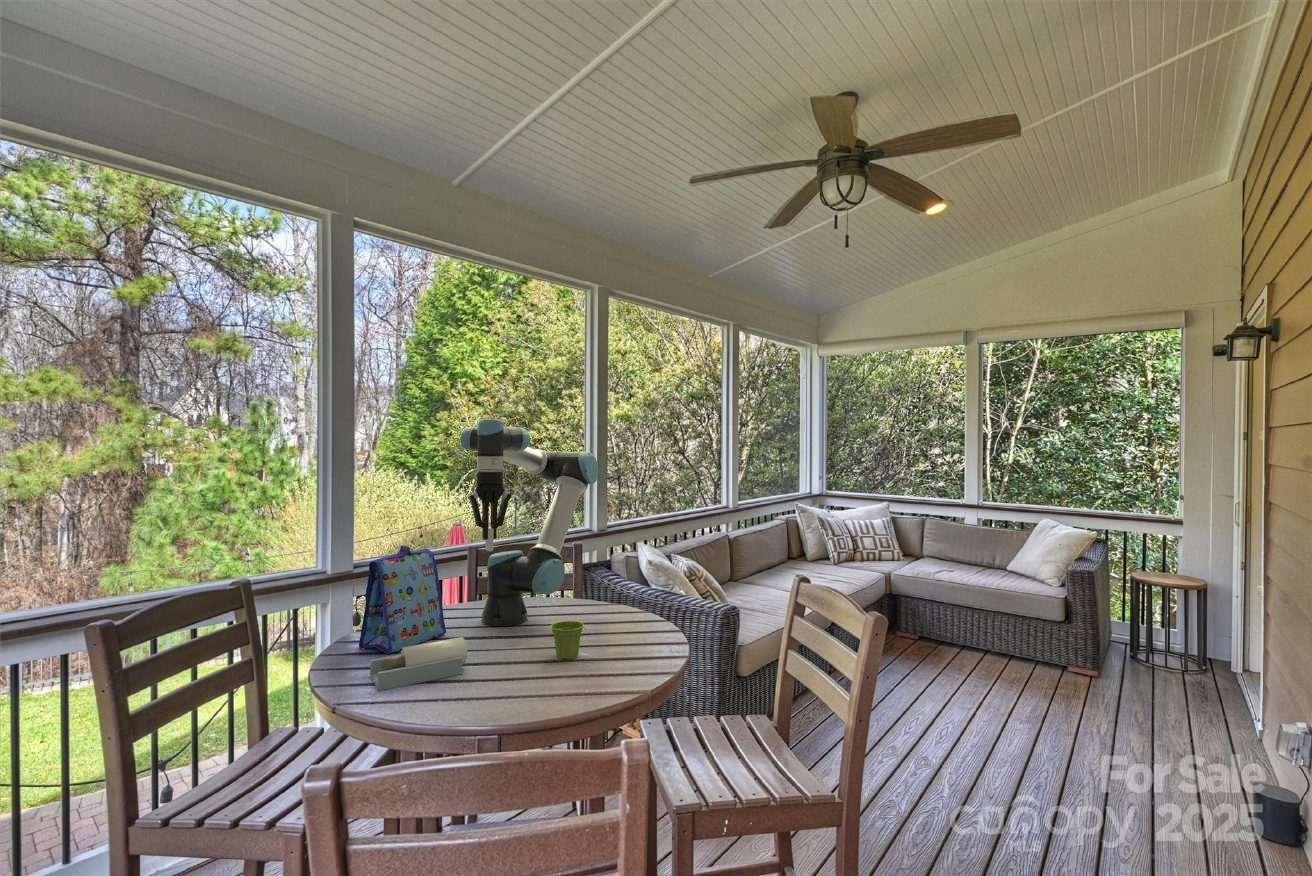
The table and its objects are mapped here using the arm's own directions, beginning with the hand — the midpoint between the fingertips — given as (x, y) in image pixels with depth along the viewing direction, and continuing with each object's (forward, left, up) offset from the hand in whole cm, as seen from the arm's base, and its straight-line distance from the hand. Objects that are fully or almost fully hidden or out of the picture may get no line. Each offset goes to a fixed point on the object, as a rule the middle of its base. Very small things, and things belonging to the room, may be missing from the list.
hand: (489, 550), depth 180 cm
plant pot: (-16, +20, -29) cm, 38 cm away
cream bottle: (+11, +12, -24) cm, 29 cm away
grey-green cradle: (+23, +12, -28) cm, 38 cm away
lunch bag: (+20, -18, -29) cm, 39 cm away
